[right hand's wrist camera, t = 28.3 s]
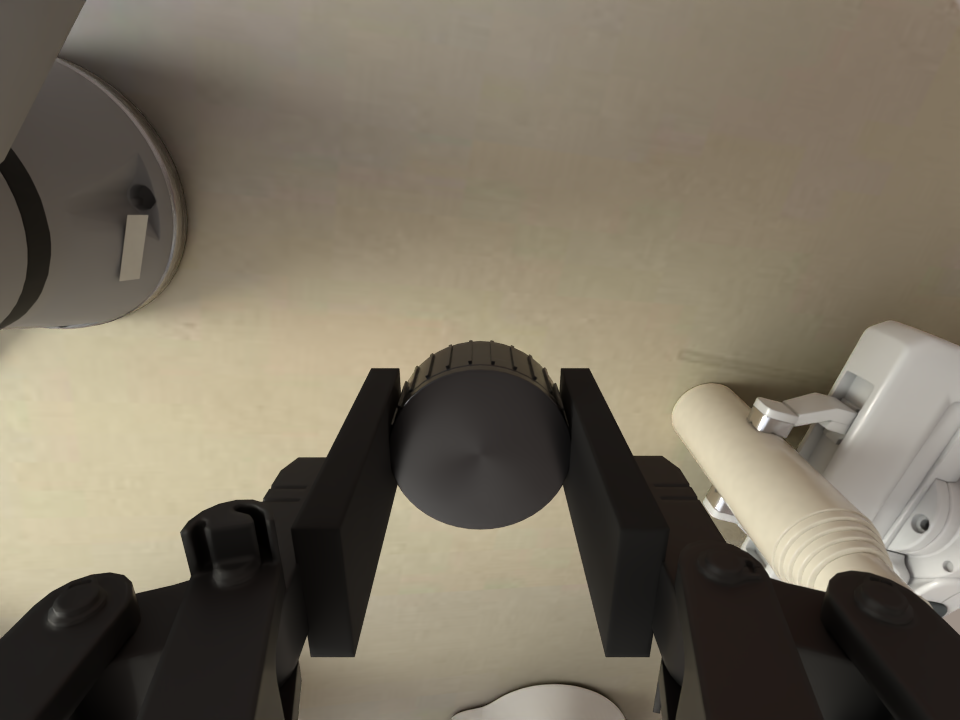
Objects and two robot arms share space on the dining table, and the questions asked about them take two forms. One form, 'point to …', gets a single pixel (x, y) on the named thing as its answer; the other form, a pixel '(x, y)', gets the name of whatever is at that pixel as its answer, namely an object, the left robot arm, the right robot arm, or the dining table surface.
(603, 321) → the dining table surface
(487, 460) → the cap
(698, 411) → the bottle
